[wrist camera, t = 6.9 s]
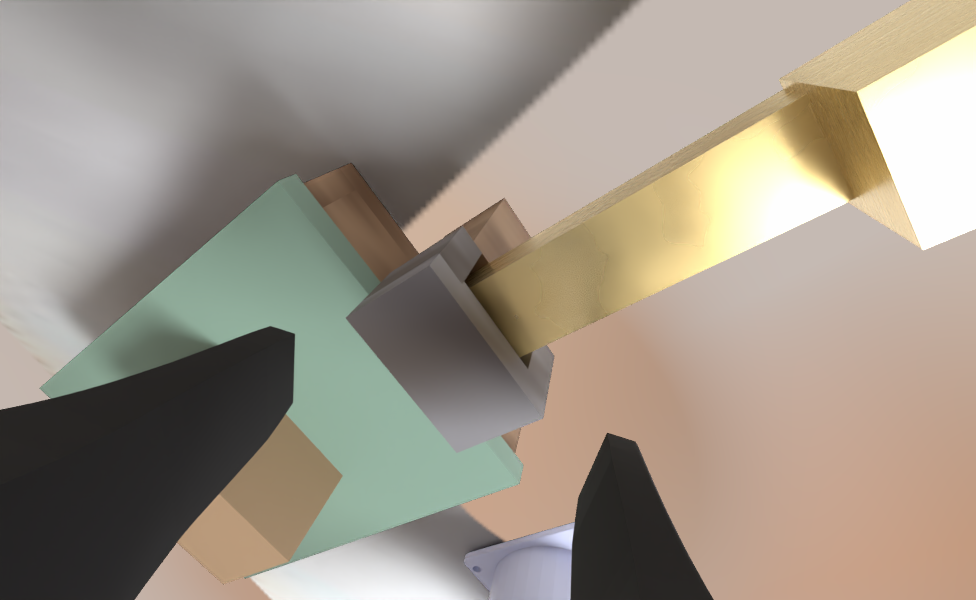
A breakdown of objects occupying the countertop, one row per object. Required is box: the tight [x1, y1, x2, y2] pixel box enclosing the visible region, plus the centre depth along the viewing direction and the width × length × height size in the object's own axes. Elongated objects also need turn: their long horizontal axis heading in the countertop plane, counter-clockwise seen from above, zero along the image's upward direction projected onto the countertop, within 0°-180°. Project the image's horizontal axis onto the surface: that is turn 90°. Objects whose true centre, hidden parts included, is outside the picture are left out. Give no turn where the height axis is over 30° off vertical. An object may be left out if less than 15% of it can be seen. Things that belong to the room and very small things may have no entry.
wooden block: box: [464, 0, 976, 357], centre depth 11 cm, size 3×13×4 cm, turn 125°
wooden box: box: [304, 163, 554, 453], centre depth 21 cm, size 13×22×8 cm, turn 125°
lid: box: [40, 174, 523, 584], centre depth 20 cm, size 14×18×5 cm
